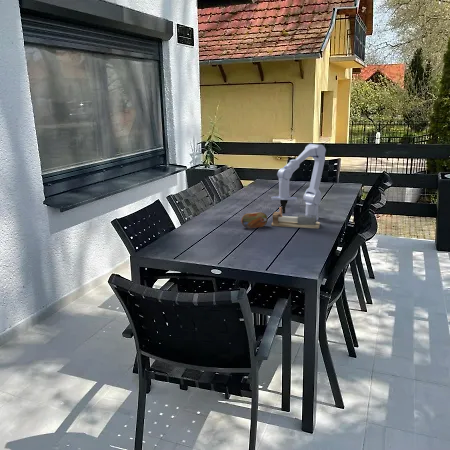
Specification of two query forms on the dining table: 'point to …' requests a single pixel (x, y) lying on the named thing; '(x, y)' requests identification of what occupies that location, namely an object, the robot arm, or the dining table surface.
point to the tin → (254, 220)
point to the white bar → (286, 217)
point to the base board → (295, 225)
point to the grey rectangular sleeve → (306, 219)
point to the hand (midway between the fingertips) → (283, 213)
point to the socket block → (275, 217)
